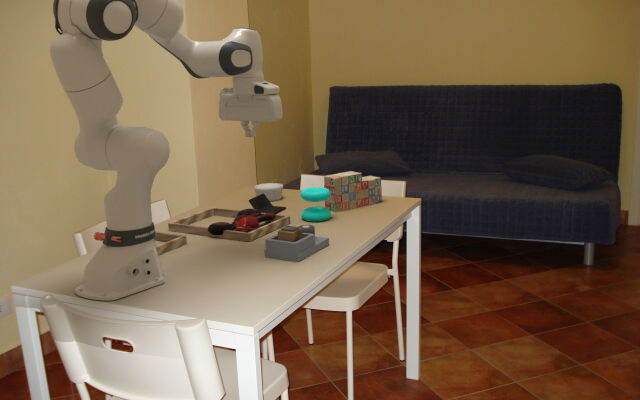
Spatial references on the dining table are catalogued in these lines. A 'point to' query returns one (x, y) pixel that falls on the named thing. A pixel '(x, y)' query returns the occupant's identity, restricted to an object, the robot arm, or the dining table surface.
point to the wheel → (308, 229)
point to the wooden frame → (169, 241)
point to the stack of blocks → (351, 190)
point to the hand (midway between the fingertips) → (251, 136)
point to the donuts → (316, 212)
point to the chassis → (294, 247)
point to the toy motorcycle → (241, 222)
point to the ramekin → (269, 190)
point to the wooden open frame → (184, 227)
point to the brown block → (290, 234)
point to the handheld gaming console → (265, 205)
